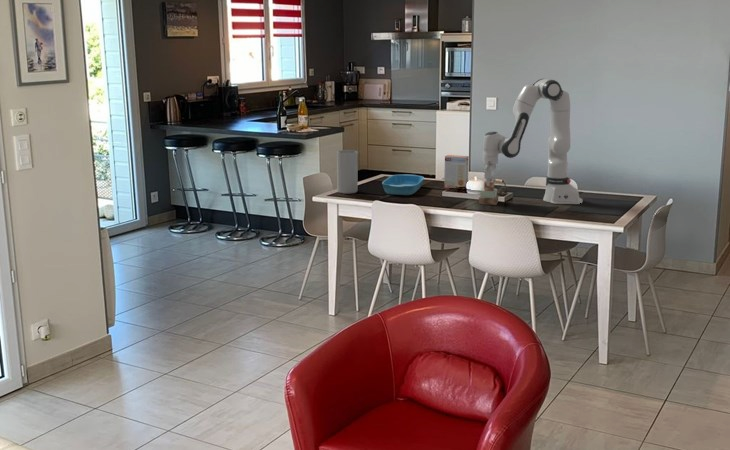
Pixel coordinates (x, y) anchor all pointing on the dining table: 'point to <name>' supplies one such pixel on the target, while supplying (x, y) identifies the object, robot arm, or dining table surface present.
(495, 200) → the walnut block
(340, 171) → the cylinder vase
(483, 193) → the sage block
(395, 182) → the casserole dish
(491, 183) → the terracotta cube
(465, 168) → the cracker box
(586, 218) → the dining table surface
